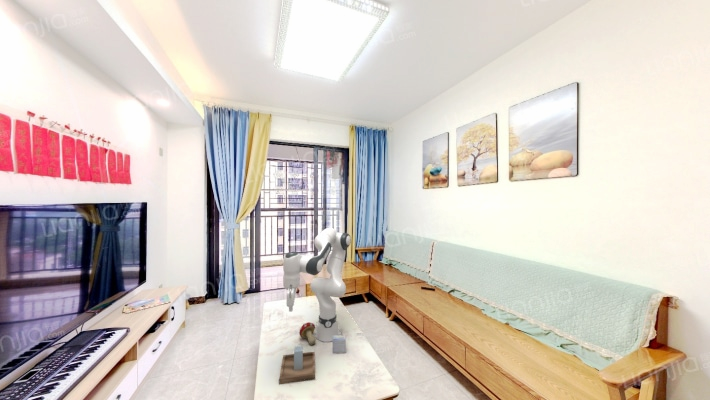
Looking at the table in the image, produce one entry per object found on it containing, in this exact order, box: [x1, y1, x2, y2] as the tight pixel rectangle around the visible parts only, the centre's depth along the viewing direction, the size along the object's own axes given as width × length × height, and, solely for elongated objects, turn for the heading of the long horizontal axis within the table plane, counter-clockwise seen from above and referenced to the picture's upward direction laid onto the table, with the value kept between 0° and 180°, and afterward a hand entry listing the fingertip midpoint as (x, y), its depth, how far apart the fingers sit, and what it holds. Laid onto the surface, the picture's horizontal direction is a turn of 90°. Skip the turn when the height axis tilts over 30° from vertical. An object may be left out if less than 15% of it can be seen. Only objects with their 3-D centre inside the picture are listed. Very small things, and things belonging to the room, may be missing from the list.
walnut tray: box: [278, 351, 316, 385], centre depth 128 cm, size 18×18×3 cm
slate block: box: [293, 345, 304, 370], centre depth 128 cm, size 4×4×10 cm
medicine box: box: [332, 334, 347, 354], centre depth 144 cm, size 8×4×9 cm, turn 92°
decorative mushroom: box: [298, 322, 317, 346], centre depth 154 cm, size 11×11×15 cm
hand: (291, 306), depth 129 cm, fingers open, 8 cm apart
